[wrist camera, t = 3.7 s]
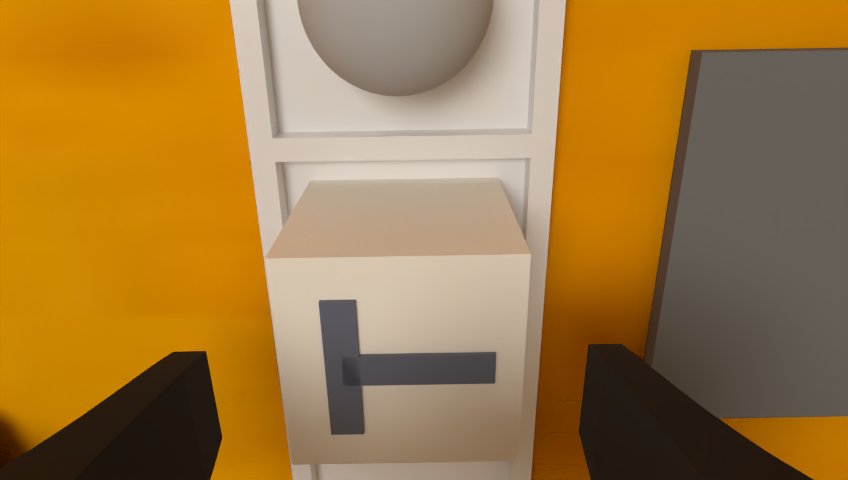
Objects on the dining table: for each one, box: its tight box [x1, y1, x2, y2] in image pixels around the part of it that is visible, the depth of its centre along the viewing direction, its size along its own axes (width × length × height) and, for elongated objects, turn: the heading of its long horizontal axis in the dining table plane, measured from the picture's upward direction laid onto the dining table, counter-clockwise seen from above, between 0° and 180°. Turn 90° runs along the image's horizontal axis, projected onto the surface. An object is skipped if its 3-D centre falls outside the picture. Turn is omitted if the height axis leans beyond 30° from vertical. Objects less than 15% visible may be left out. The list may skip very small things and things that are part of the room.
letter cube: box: [265, 177, 531, 465], centre depth 14 cm, size 5×5×5 cm
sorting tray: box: [230, 0, 566, 480], centre depth 16 cm, size 22×8×1 cm, turn 1°
